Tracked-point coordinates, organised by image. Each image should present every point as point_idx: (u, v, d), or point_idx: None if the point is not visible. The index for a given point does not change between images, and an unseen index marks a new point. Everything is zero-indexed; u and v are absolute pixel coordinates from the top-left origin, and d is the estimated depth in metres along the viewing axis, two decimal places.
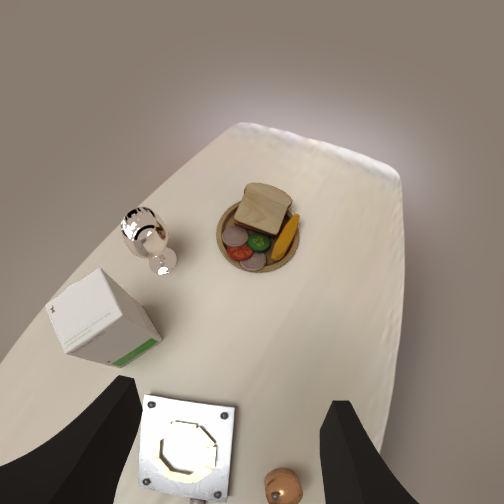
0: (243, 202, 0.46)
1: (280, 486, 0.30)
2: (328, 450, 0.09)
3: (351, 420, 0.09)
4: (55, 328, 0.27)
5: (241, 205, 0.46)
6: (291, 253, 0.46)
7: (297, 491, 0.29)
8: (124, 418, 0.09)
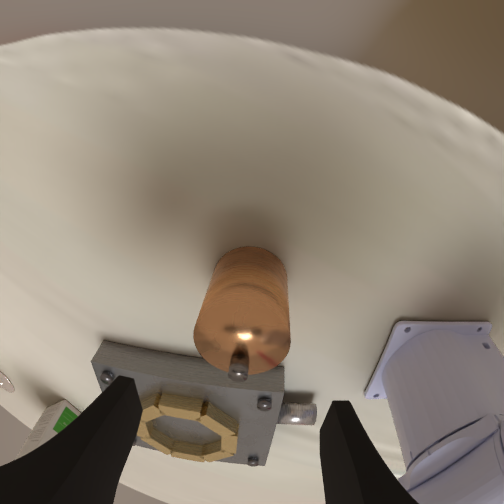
0: None
1: (214, 348, 0.14)
2: (328, 451, 0.09)
3: (351, 420, 0.09)
4: None
5: None
6: None
7: (232, 313, 0.13)
8: (124, 418, 0.09)
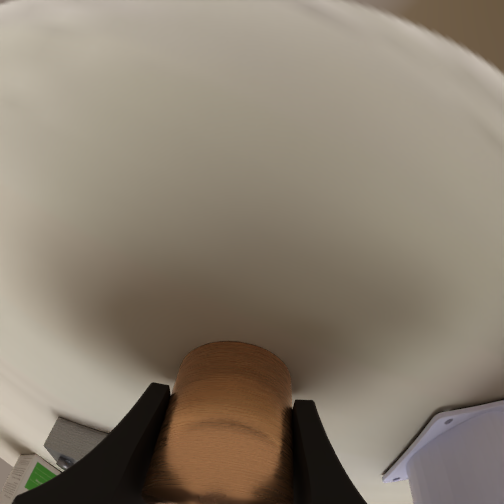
0: None
1: None
2: None
3: (311, 420, 0.09)
4: None
5: None
6: None
7: (196, 495, 0.06)
8: (160, 426, 0.09)
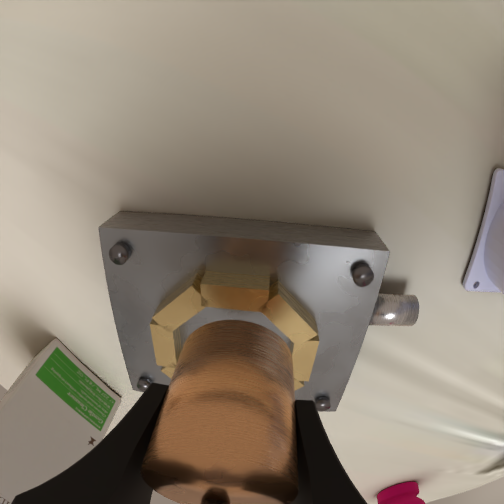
0: None
1: (175, 490, 0.07)
2: None
3: (311, 420, 0.09)
4: None
5: None
6: None
7: (203, 467, 0.06)
8: None
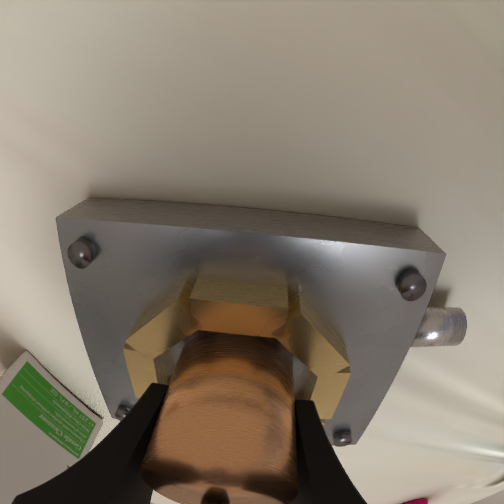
0: None
1: (175, 490, 0.07)
2: None
3: (311, 420, 0.09)
4: None
5: None
6: None
7: (202, 467, 0.06)
8: None
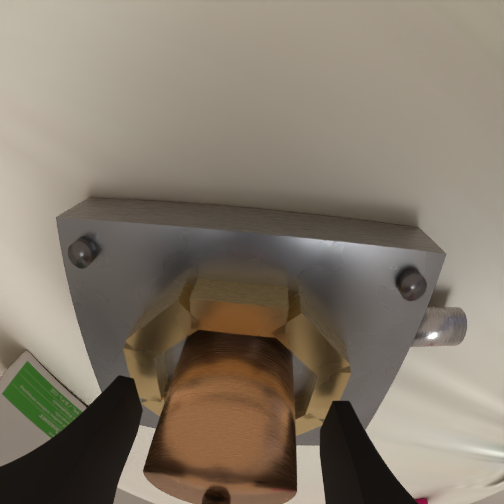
0: None
1: (177, 488, 0.07)
2: (328, 450, 0.09)
3: (351, 420, 0.09)
4: None
5: None
6: None
7: (204, 467, 0.06)
8: (124, 418, 0.09)
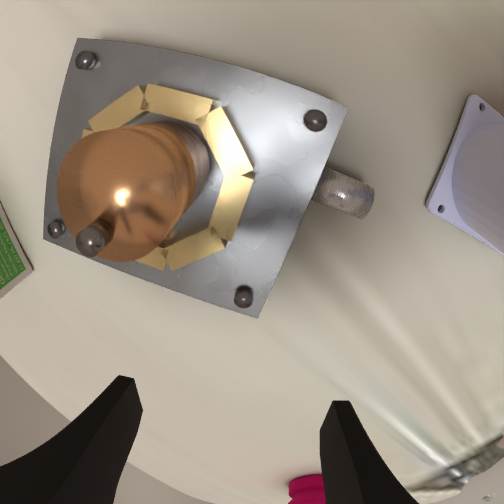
0: None
1: (76, 203, 0.09)
2: (328, 450, 0.09)
3: (351, 420, 0.09)
4: None
5: None
6: None
7: (108, 148, 0.08)
8: (124, 418, 0.09)
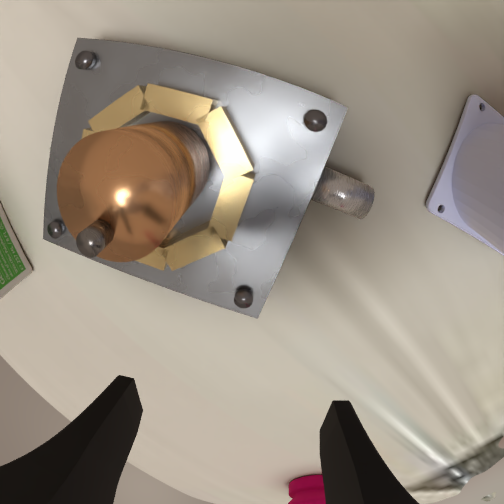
0: None
1: (76, 204, 0.09)
2: (328, 450, 0.09)
3: (351, 420, 0.09)
4: None
5: None
6: None
7: (108, 148, 0.08)
8: (124, 418, 0.09)
